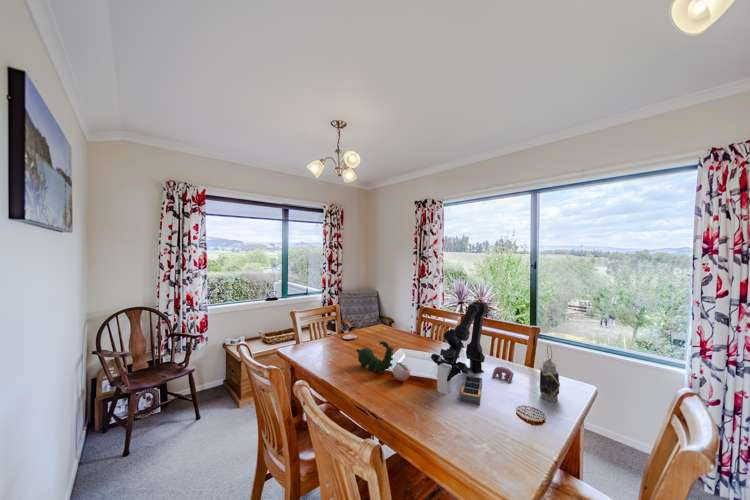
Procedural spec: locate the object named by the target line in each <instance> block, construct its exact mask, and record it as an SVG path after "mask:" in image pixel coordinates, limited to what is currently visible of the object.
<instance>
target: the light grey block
mask: <svg viewBox="0 0 750 500" xmlns="http://www.w3.org/2000/svg"><path fill="white" fill-rule="evenodd" d="M450 371H451V366H450V365H447V364H445V363H444V364H440V365H437V372H438V375H437V374H436V377H437V392H439V393H441V394H443V395H446V396H447V395H449V394H450V393H451V391H452V388H451V387H452V386H451V385H452V382H451V381H452V379H451V380H449V381H447V378H448V375H449V373H450Z"/></svg>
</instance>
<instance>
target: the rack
mask: <svg viewBox="0 0 750 500" xmlns="http://www.w3.org/2000/svg"><path fill="white" fill-rule="evenodd" d="M482 389H483V377H479V376H473V375H468V374H464V376H463V381H462V385H461V388H460V396H459V397H460V398H459V399H460V402H463V403H467V404H471V405H477V406H481V402H482V401H481V399H482Z"/></svg>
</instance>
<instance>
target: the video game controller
mask: <svg viewBox="0 0 750 500" xmlns="http://www.w3.org/2000/svg"><path fill="white" fill-rule="evenodd" d="M503 374H504V375H503ZM514 375H515V374H514V372H513V371H512V370H511V369H509V368H507V367H504V366H495V368H494V370H493V372H492V379H493V378H494V379H495V378H496V376H498V377H499V378H504V379H505V380H508V383H509V384H510V383H512V381H513V378H514Z"/></svg>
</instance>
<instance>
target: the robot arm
mask: <svg viewBox="0 0 750 500" xmlns="http://www.w3.org/2000/svg"><path fill="white" fill-rule="evenodd" d="M488 311H489V305H488V304H487V302H483V301H478V300H477V301H474V302H471V303H469V304H468V306H467V310H466V312H465V314H464V317H463V319H462V320H461V323H459V324H458V325H456V326H455V328H450V329H449V330H447V331H445V332H444V334H443V338H444V340H445V341H446V343H447V344H448V345H449V347H448V348H446V349H444V348H441V349H440V353H439V354H436V353H432V354H431V355H430V358H431V360H432V361H433V362H434V363H435V364H437V366H438V365H440V364H445V365H448V366H451V371H450V373H449V375H448V378H447V381H449V380H451V381H452V379H453V378H454V377H456V376H457V375H458V374H461V373H463V374H464V375H468V374H469V371H470V372H472V373H473V374H479V373H484V372H485V371H484V370H483V369H482V363H484V362H485V358H486V357H485V355H484V353H483V348H482V345H481V340H482V339H481V338H482V337H481V336H482V331H483V330H482V329H483V322H484V318H485V316H486V315H488ZM471 326H472V331H470V328H471ZM470 334H471V339H470ZM469 339H470V342H469V343H467V345H466V349H465V345H464V343H463V342H467V341H468V340H469ZM462 349H465V355H466V359H467V360H469V367H468V365H466V363H465V362H461V361H458V359H460V357H461V356H460V354H461V351H462ZM436 372H437V373H436V376H437V375H438V371H436Z"/></svg>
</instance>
